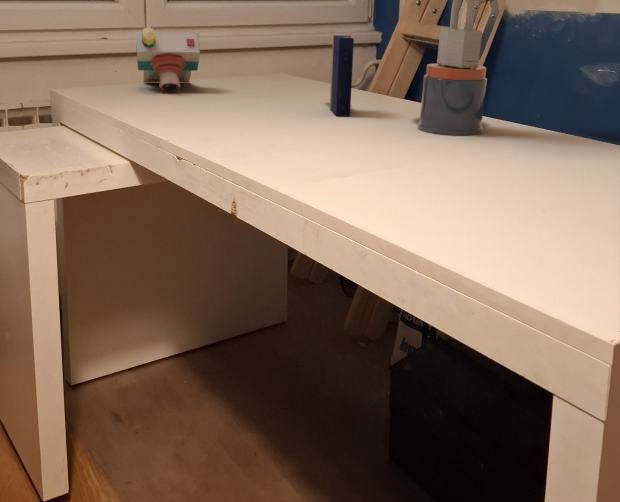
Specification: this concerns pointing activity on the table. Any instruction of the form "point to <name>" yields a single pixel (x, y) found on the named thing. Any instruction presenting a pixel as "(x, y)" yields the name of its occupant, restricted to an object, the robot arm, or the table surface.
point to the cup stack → (453, 100)
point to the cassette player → (341, 75)
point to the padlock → (460, 40)
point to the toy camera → (167, 57)
